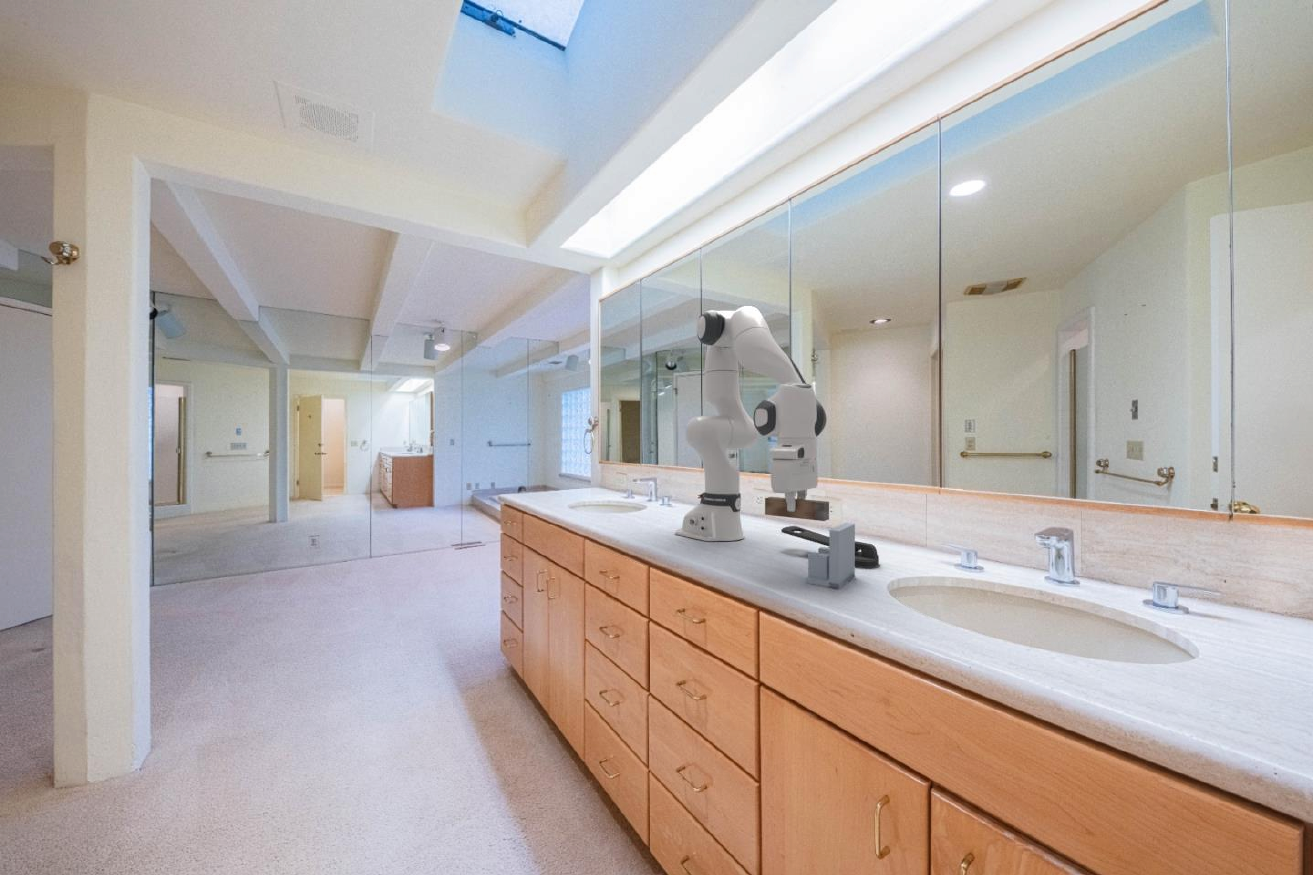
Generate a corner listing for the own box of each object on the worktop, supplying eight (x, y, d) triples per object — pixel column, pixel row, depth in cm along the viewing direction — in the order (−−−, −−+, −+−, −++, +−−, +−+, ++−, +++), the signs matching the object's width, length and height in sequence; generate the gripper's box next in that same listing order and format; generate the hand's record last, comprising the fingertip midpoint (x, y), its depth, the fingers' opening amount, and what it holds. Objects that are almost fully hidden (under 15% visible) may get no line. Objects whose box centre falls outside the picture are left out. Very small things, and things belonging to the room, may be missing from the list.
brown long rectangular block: (764, 514, 110) (765, 497, 110) (771, 513, 113) (771, 496, 113) (824, 521, 101) (824, 503, 101) (829, 519, 104) (829, 501, 104)
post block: (805, 582, 99) (805, 527, 99) (823, 570, 109) (823, 520, 109) (838, 589, 95) (839, 531, 95) (854, 576, 104) (854, 523, 105)
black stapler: (794, 524, 134) (883, 538, 116) (793, 547, 134) (883, 564, 116) (777, 528, 128) (870, 543, 110) (777, 552, 128) (870, 570, 110)
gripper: (799, 450, 117) (799, 504, 117) (765, 450, 101) (765, 513, 101) (824, 450, 113) (824, 506, 113) (793, 451, 97) (792, 516, 97)
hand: (796, 510), depth 107 cm, fingers closed on brown long rectangular block, 3 cm apart
